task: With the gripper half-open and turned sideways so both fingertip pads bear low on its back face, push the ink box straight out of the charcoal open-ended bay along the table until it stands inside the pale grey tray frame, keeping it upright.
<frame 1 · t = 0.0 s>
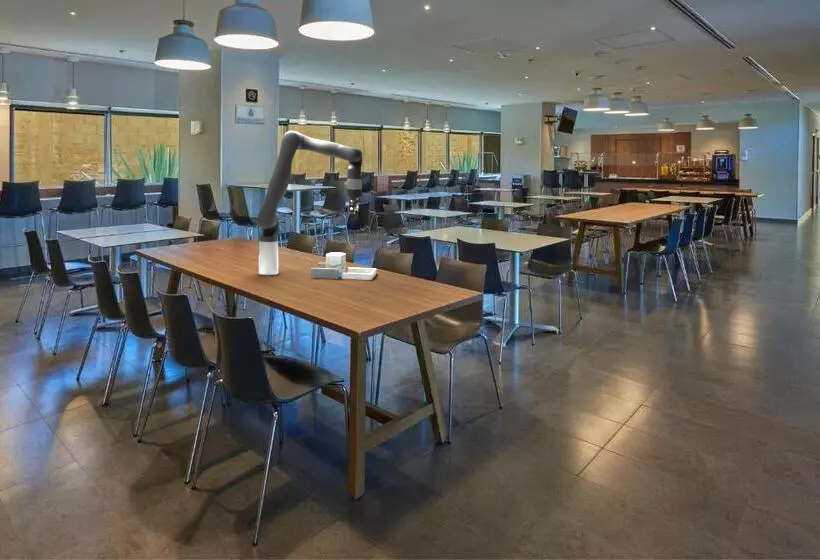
hand: (354, 220, 306), 29 cm above the table, fingers open, 8 cm apart
ink box: (335, 276, 314), on the table
tray frame: (358, 276, 313), on the table
bay: (328, 275, 315), on the table
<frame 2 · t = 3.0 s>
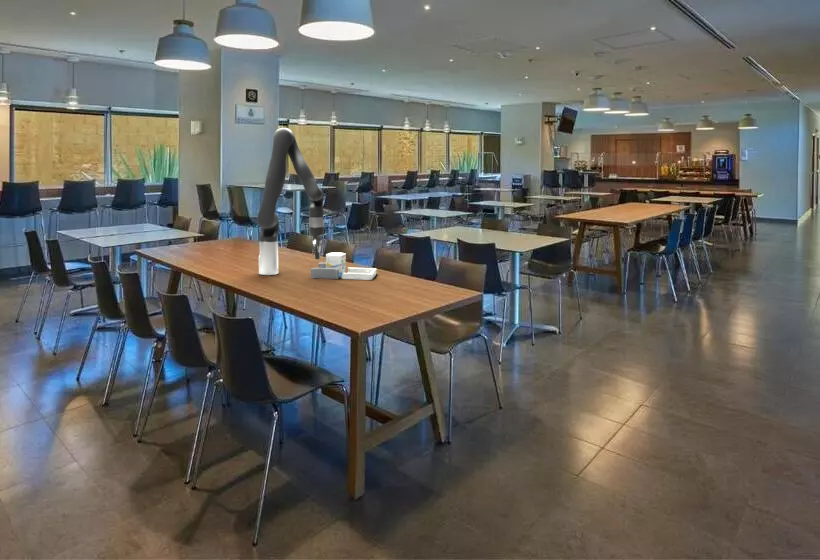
hand: (317, 259, 313), 8 cm above the table, fingers closed
nothing on the table moved.
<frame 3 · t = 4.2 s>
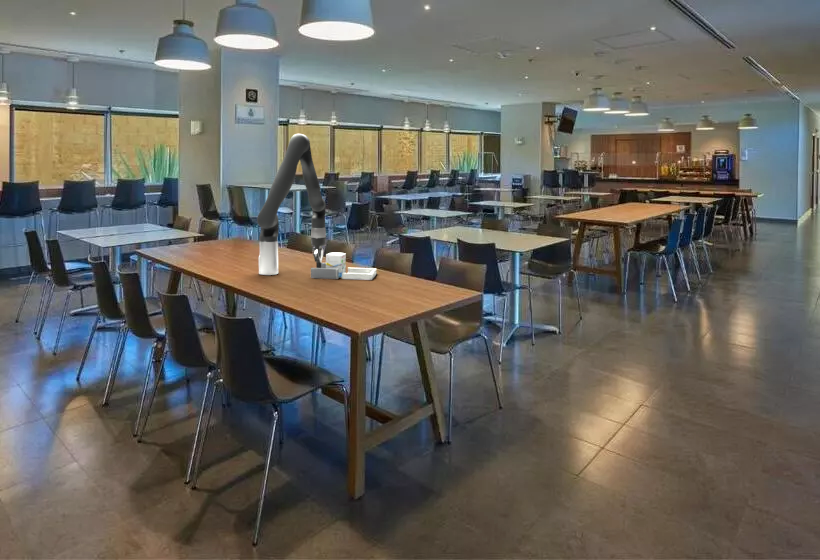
hand: (318, 269, 315), 3 cm above the table, fingers closed
nothing on the table moved.
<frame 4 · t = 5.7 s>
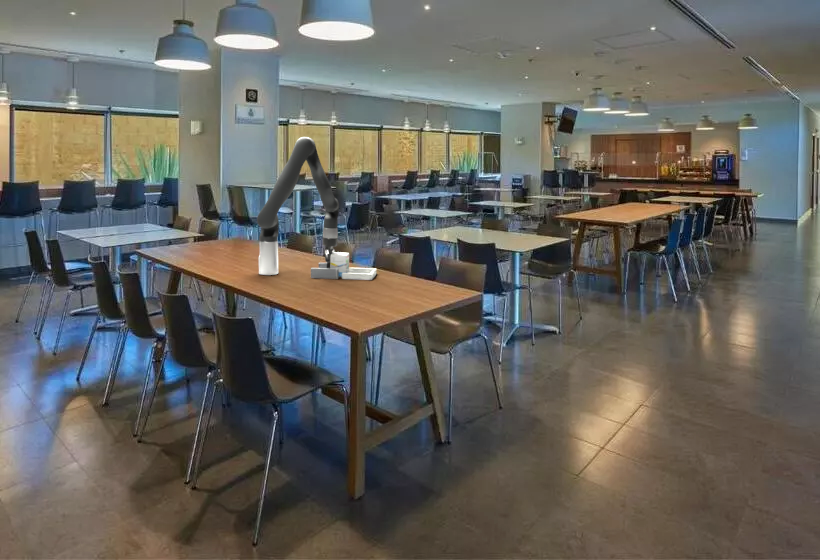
hand: (328, 269, 314), 3 cm above the table, fingers closed
ink box: (339, 275, 314), on the table, touching hand
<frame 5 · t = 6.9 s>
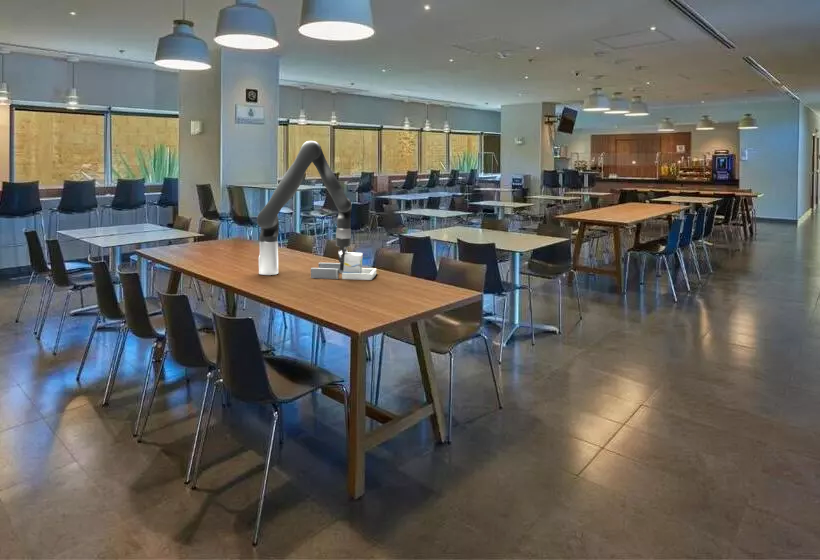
hand: (342, 269, 313), 3 cm above the table, fingers closed
ink box: (352, 276, 314), on the table, touching hand
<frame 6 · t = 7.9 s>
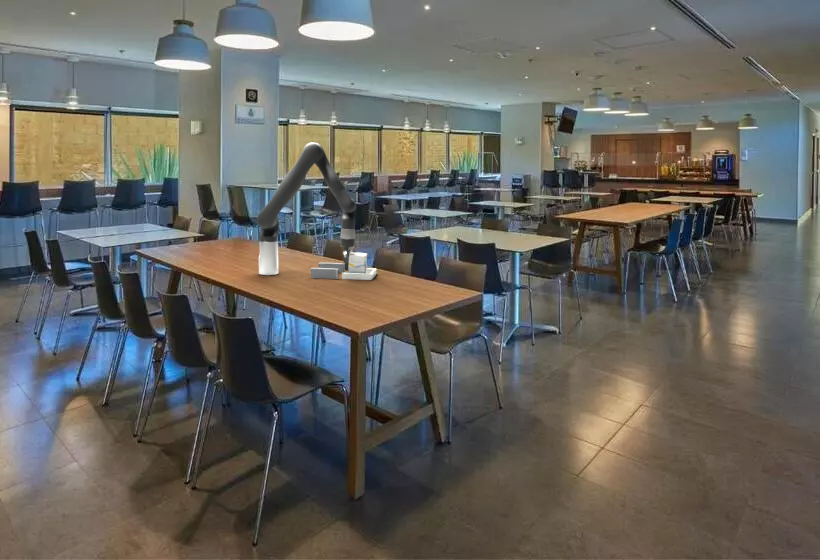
hand: (346, 270, 313), 3 cm above the table, fingers closed
ink box: (357, 276, 314), on the table, touching hand
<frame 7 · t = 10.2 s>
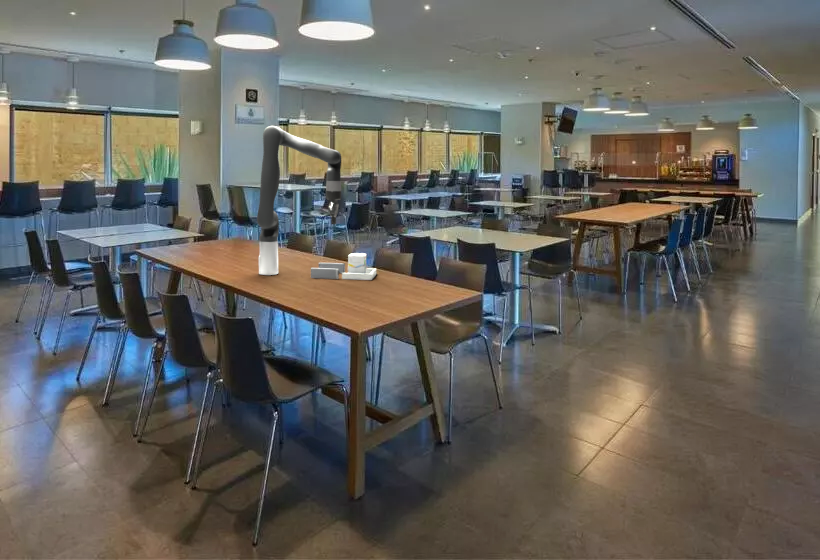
hand: (333, 224, 309), 27 cm above the table, fingers closed
ink box: (357, 276, 314), on the table
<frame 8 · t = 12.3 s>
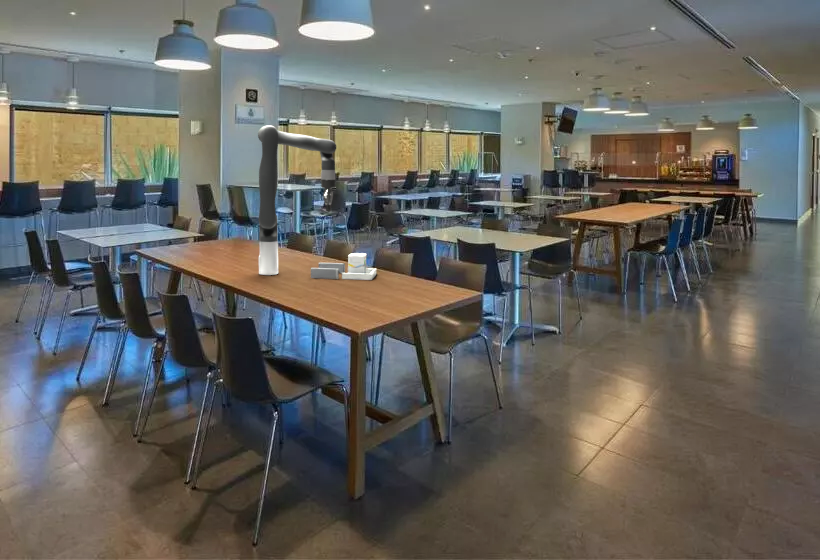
hand: (328, 211, 322), 32 cm above the table, fingers closed
nothing on the table moved.
at the end: ink box 0.8 cm from the tray frame (horizontally); ink box tilted 0°; ink box touching table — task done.
